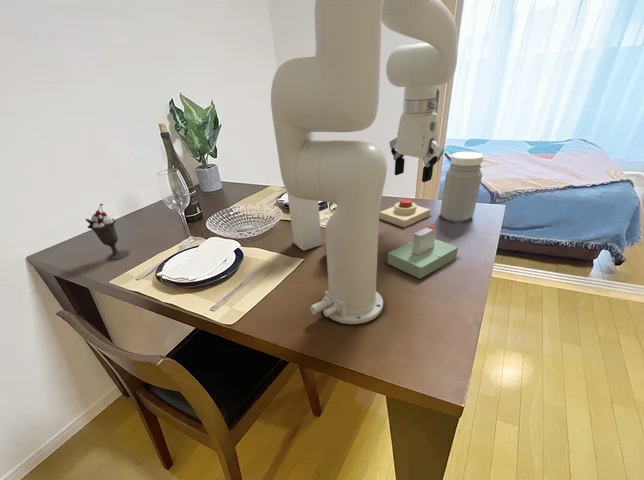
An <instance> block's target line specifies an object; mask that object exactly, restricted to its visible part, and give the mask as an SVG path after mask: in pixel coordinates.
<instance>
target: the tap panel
mask: <svg viewBox="0 0 644 480" xmlns="http://www.w3.org/2000/svg"><path fill="white" fill-rule="evenodd" d="M412 247H413V240H411V241H409V242H406V243H405V244H403V245H401V246H399V247H397V248H395V249H393V250H391V251H389V252H387V262H386V263H387V264H388V265H389V266H392V267H393V268H396V269H398V270H400V271H402V272H404V273H407V274H408V275H410V276H413V277H415V278H417V279H419V280H420V279H422V278H424V277H426V276H427V275H430V274H431V273H433V272H435V271H436V270H438V269H440V268H441V267H443V266H445V265H447V264H448V263H450V262H452V261H453V260H455V259H457V255H458V250H459V247H458V246H456V245H453V244H450V243H448V242H446V241H442V240H439V239H437V238H435V245H434V247H433V248H431V249H429V250H427V251H426V252H424V253H422V254H420V255H417V254H414V253H412Z"/></svg>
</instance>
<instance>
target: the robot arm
mask: <svg viewBox="0 0 644 480" xmlns="http://www.w3.org/2000/svg"><path fill="white" fill-rule="evenodd" d="M382 24H383V25H384V26H385V27H386V28H387V29H389V30H390V31H392V32H394V33H397V34H400V35H402V36H405V37H408V38H412V39H415V40H418V41H420V42H419V43H413V44H403V45H400V46H397V47H396V48H394V49H393V50H392V51H391V53H390V54H389V56H388V59H387V62H386V67H385V72H386V77H387V80H388V82H389V83H390V84H391V85H392V86H394V87H396V88H397V87H398V88H404V90H403V102H402V103H403V105H402V113H401V114H400V118H399V121H398V128H397V134H396V135H397V136H396V137H394V139H392V140H390V141H389V143H388V145H389V147H390V152H391V154H392V157H393V161H394V175H395V176H399V175H402V174H404V173H405V161H406V160H405V158H404V157H405V156H407V157H412V158H417V159H422V162H423V164H424V166H423V168H422V174H421V182H422V183H427V182H429V181H431V180H432V178H433V171H434V166H435V165H436V164H437V163H438V162H439V161H440V160H441V158H442V156H443V154H444V152H445V148H444V147H442V146H441V145H440V144H439V143H438V115H437V114H438V113H437V112H435V110H437V109H438V108H439V103H438V102H436V96H437V88H438V86H442V85H445V84H448V83H449V82H450V81H451V80H452V78H453V76H454V75H455V72H456V69H457V65H458V51H459V50H458V47H459V46H458V26H457V23H456V19H455V17H454V15H453V14H452V12H451V11H450V10H449V8H448V7H447V6H446V5H445V4H444V3H443V1H441V0H315V2H314V34H315V55H313V56H305V57H296V58H295V57H294V58H291V59H288V60H285V61H284V62H282V64H280V65H279V67H278V68H277V69H276V71H275V73H274V76H273V79H272V83H271V89H270V109H271V118H272V124H273V125H272V126H273V131H274V137H275V144H276V151H277V157H278V165H279V168H280V169H279V170H280V175H281V180H282V183H283V186H284V188H285V189H286V192H287V191H288V192H289V193H290V194H291V195H292V196H294V197H296V198H300V199H306V200H314V201H318V202H326V203H331V204H334V205H336V210H335V211H333V213H332V215H331V216H330V217H328V220H327V222H326V225H325V229H324V230H325V231H324V237H325V241H326V252H325V254H326V253H327V254H326V265H327V268H326V269H327V282H328V283H327V284H328V289H326V290H325V291H324V295H323V298H322V299H321V301H318V302H316V303H313V304H312V305H310V306H309V310H310V312H311V314H312V315H313V316H315V315H318V314H319V313H321V312H322V313H323V315H324V317H326V318H329V319H331V320H333V321H334V322H338V323H341V324H345V325H346V324H347V325H359V324H365V323H368V322H370V321H373V320H375V319H376V318H377V317H378V316H379V315H380V314H381V313H382V311H383V308H384V299H383V297H382V295H381V294H380V293H379V292H378V291H377V276H378V275H377V272H378V251H379V248H378V247H379V244H378V243H379V227H380V226H379V225H380V212H381V204H382V199H383V195H384V189H385V184H386V179H387V171H388V162H387V156H386V155H385V152H384V151H383V150H382V149H381V148H380V147H379V146H377V145H376V144H374V143H370V142H368V141H362V140H340V139H339V140H337V139H336V140H335V139H334V140H333V139H332V140H325V139H324V140H323V139H321V140H320V139H315V136H314V135H315V134H314V133H355V132H361V131H365V130H367V129H368V128H370V127H371V126H372V125H373V123H374V122H375V120H376V117H377V115H378V109H379V101H380V81H381V80H380V78H381V47H382V46H381V45H382ZM421 41H422V42H421Z"/></svg>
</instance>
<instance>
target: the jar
mask: <svg viewBox="0 0 644 480" xmlns="http://www.w3.org/2000/svg"><path fill="white" fill-rule="evenodd" d="M483 160H484V155H483V153H481V152H478V151H457V152H454V153H452V154H451V155H450V164H449V168H448V169H447V170H446V172H445V179H444V185H443V192H442V197H441V204H440V210H439V211H440V215H441V217H442V218H443V219H444V220H446V221H450V222H452V223H453V222H454V223H455V222H456V223H457V222H458V223H461V222H467V221H468V220H470V219H471V218H472V217H474V214H475V210H476V205H477V201H478V196H479V192H480V188H481V183H482V178H483V172H482V170H481V168H482V165H481V164H483Z"/></svg>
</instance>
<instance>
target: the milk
mask: <svg viewBox="0 0 644 480" xmlns="http://www.w3.org/2000/svg"><path fill="white" fill-rule="evenodd" d="M286 194H287V202H288V208H289V218H290V224H291V225H290V226H291V233H292V239H293V244H294V245H295V246H296V247H298V248H299V249H300V250H301V251H302V252H303V251H307V250H311V249H314V248H317V247H321V246H322V232H321V231H322V230H321V220H320V219H321V217H320V204H319V203H320V202H319V201H314V200H306V199H300V198H296V197H294V196H292V195H291V194H290V193H289V192H288V191H287V190H286Z"/></svg>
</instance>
